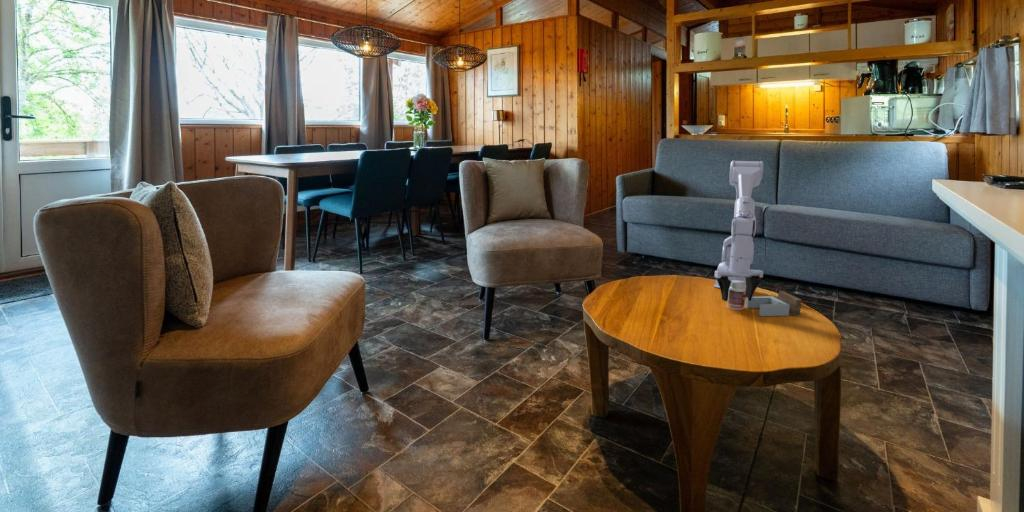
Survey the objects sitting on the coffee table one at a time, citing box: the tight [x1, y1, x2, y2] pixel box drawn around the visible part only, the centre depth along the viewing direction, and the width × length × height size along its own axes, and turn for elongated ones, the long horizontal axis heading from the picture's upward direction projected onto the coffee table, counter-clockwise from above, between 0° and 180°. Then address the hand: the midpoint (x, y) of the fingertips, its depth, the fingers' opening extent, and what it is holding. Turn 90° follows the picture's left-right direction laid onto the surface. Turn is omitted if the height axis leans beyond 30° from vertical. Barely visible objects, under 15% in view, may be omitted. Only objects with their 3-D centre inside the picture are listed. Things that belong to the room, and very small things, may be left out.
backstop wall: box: [777, 290, 803, 317], centre depth 162 cm, size 2×9×5 cm, turn 6°
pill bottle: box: [727, 280, 746, 311], centre depth 164 cm, size 5×5×8 cm
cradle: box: [744, 295, 790, 317], centre depth 162 cm, size 8×9×3 cm
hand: (736, 300), depth 164 cm, fingers open, 7 cm apart
